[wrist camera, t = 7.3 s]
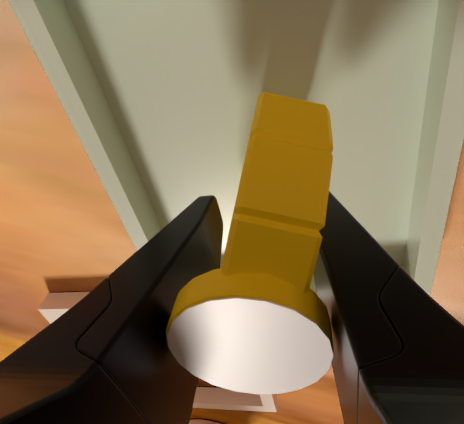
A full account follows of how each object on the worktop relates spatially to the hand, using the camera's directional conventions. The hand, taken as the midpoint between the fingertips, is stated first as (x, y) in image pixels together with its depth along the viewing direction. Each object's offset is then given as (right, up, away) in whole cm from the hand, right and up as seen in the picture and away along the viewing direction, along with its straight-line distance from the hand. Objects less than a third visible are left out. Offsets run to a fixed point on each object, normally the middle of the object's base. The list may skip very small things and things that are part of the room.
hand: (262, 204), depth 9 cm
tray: (0, +2, +2) cm, 3 cm away
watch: (0, +1, +1) cm, 2 cm away
